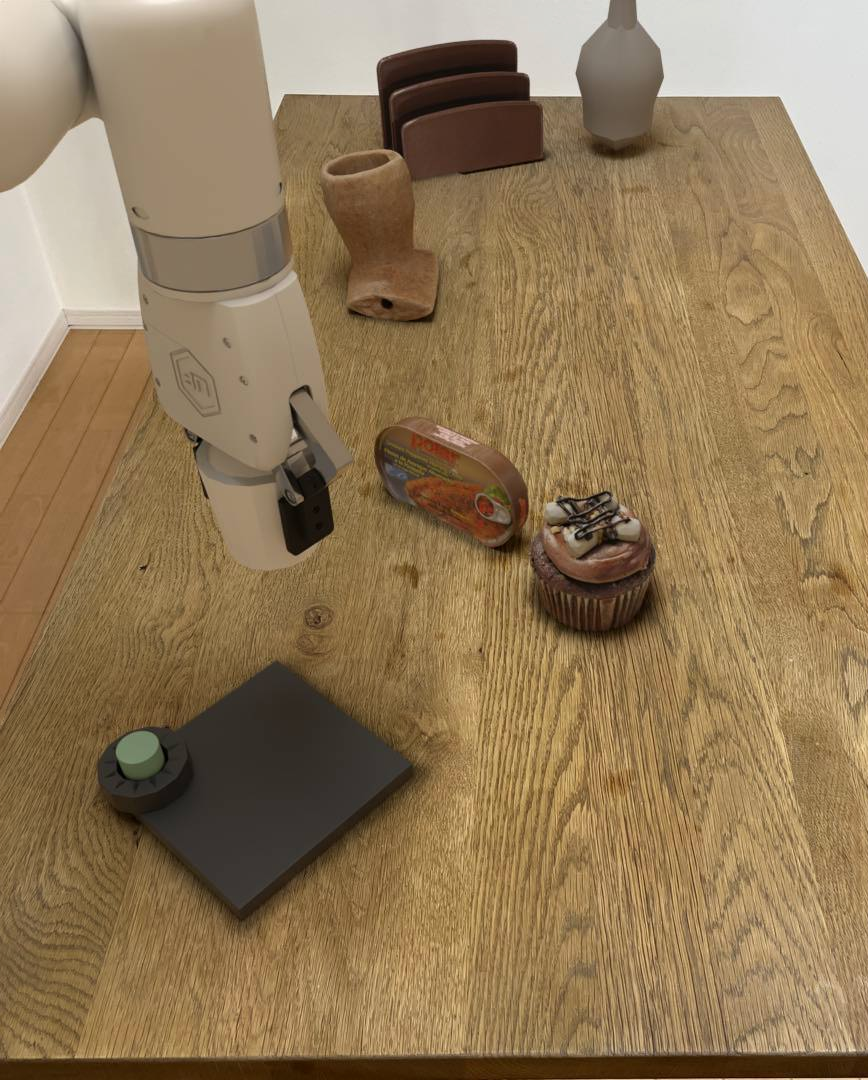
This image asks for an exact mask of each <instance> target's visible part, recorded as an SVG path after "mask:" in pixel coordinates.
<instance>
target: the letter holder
mask: <svg viewBox="0 0 868 1080" xmlns="http://www.w3.org/2000/svg"><path fill="white" fill-rule="evenodd" d="M518 52H519V51H518V46H517V44H516V43H515V41H512V40H509V39H468V40H467V39H466V40H459V41H458V40H457V41H450V42H444V43H437V44H431V45H426V46H420V47H416V48H412V49H407V50H403V51H400V52H397V53H393V54H390V55H387V56H384V57H382V58H381V59H379V60H378V62H377V64H376V81H377V92H378V99H379V100H378V101H379V110H380V125H381V135H382V146H383V147H382V148H383V149H385V150H392V151H395V152H397V153H398V154H400V155H401V157H402V158H403V159H404V161H405V163H406V165H407V167H408V170H409V174H410V178H411V181H412V180H417V179H418V180H419V179H424V178H429V177H435V176H442V175H447V174H454V173H458V174H461V175H462V174H467V173H473V172H478V171H484V170H490V169H496V168H502V167H508V166H514V165H519V164H526V163H532V162H536V161H543V160H544V157H545V151H544V108H543V105H542V104H541V103H540V102H539V101H536V100H531V79H530V77H529V75H528V74H527V73H524V72H518V69H519V68H518V66H519V65H518V63H519V61H518V57H519V55H518V54H519V53H518Z"/></svg>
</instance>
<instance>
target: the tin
mask: <svg viewBox="0 0 868 1080" xmlns="http://www.w3.org/2000/svg"><path fill="white" fill-rule="evenodd" d="M373 453H374V454H373V457H374V461H375V462H374V463H375V466H376V469H377V472H378V474H379V477H380V479H381V481H382V483H383V485H384V486H385V488H386V490H387V491H388V492H389V494H390V495H391V496H392V497H393V499H394V500H396V501H399V502H404V503H407V504H410V505H412V506H415V507H416V508H417V509H419V510H422V511H424V512H425V513H427V514H429V515H431V516H433V517H435V518H436V519H438V520H441V521H442V522H444V523H447V524H448V525H449V526H452V527H454V528H456V529H458V530H459V531H461V532H463V533H465V534H467V535H468V536H470V537H472V538H475V539H477V540H478V541H480V542H481V543H483V544H484V545H485V546H486V547H488V548H497V547H500V546H502V545H504V544H506V543H507V542H508V541H509V539H510V538H511V537H513V536H514V535H515V534H517V533H518V532H519V531H520V530H521V529H522V528H524V526H525V525H526V522H527V520H528V517H529V510H530V500H529V492H528V488H527V484H526V482H525V480H524V478H523V476H522V474H521V472H520V470H518V468H517V467H516V466H515V465H514V463H513V462H512V461H511V460H510V458H508V457H507V456H506V455H504V454H503V453H502V452H501V451H499V450H497V449H495V448H494V447H492V446H489V445H487V444H485V443H483V442H481V441H479V440H475V439H473V438H471V437H469V436H467V435H464V434H462V433H460V432H457V431H456V430H453V429H451V428H449V427H447V426H444V425H442V424H440V423H437V422H435V421H433V420H431V419H429V418H426V417H424V416H423V417H422V416H417V415H415V416H413V415H412V416H408V417H405V418H402V419H401V420H399V421H397V422H396V423H393V424H392V425H388V426H386V427H384V428H383V429H381V430H380V432H379V433H378V435H377V436H376V438H375V441H374V447H373Z"/></svg>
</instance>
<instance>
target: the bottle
mask: <svg viewBox="0 0 868 1080" xmlns="http://www.w3.org/2000/svg"><path fill="white" fill-rule="evenodd" d="M575 77H576V81H577V84H578V89H579V92H580V96H581V100H582V127H583V128H584V129H585V130H586V131H588V132H589V133H590V134H591V135H592V136H593V137H594V138H595V139H597V141H599V143H601V144H602V145H604V146H606V147H608V148H610V149H611V150H614V151H616V152H617V151H619V150H622V149H625V148H626V147H629V146H631V145H632V144H635V142H637V141H638V140H639V139H641V138H642V137H644V136H645V135H646V134H647V133H649V132H650V131H651V130H652V124H653V117H654V110H655V104H656V100H657V97H658V95H659V93H660V90H661V87H662V86H663V85H662V84H663V82H664V79H665V75H664V65H663V60H662V52H661V48H660V47H659V46H658V45H657V43H656V42H655V41H654V39H653V38H652V36H650V34H649V33H648V31H647V30H646V29H645V28H644V25H642V24H641V22H640V20H638V9H637V0H609V6H608V12H607V18H606V19H605V20H604V22H602V23H601V24H600V25H599V26H598V28H596V29H595V31H594V32H593V33H592V34H591V35H590V36H589V38H588V39H587V40H586V41H585V42H584V43H583V44H582V45H581V48H580V52H579V56H578V60H577V65H576V69H575Z"/></svg>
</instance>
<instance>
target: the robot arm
mask: <svg viewBox="0 0 868 1080" xmlns="http://www.w3.org/2000/svg"><path fill="white" fill-rule="evenodd" d="M255 4H256V3H255V0H0V194H2V193H5V192H8V191H11V190H13V189H14V188H17V187H18V186H20V185H21V184H23V183H24V182H26V181H27V180H29V179H30V178H31V177H32V176H33V175H34V174H35V173H36V172H37V171H38V170H39V169H40V167H42V166H43V165H44V163H45V162H46V161H47V160H48V158H49V157H50V156H51V154H52V153H53V152H54V150H55V149H56V148H57V147H58V145H59V144H60V143H61V141H62V140H63V139H64V137H65V136H66V135H67V133H68V132H69V131H71V130H73V129H75V128H77V127H79V126H80V125H82V124H84V123H86V122H88V121H89V120H91V119H99V120H101V121H102V122H103V125H104V130H105V134H106V137H107V141H108V145H109V150H110V154H111V156H112V157H111V158H112V161H113V166H114V171H115V173H116V177H117V181H118V185H119V189H120V193H121V198H122V200H123V201H122V202H123V205H124V209H125V213H126V217H127V221H128V224H129V229H130V231H131V236H132V240H133V244H134V249H135V252H136V256H137V289H138V300H139V308H140V316H141V321H142V327H143V328H142V329H143V334H144V338H145V345H146V350H147V354H148V359H149V364H150V369H151V373H152V377H153V378H152V379H153V382H154V386H155V391H156V394H157V397H158V402H159V404H160V406H161V408H162V410H163V411H164V412H165V414H167V416H168V417H170V418H171V419H172V420H173V421H175V423H177V424H178V425H181V426H182V429H183V430H182V431H183V434H184V436H185V438H186V439H187V440H188V441H189V442H190V443H191V444H192V445H195V444H196V445H195V446H193V447H192V452H193V456H194V460H195V465H197V460H196V451H197V450H198V448H199V446H200V445H201V443H202V441H203V439H204V440H205V441H207V442H209V443H210V444H212V445H214V446H215V447H217V448H218V449H220V450H222V451H224V452H225V453H227V454H229V455H230V456H232V457H234V458H235V459H237V460H239V461H241V462H242V463H244V464H246V465H248V466H250V467H252V468H255V469H258V470H263V471H270V470H272V472H273V474H274V477H275V479H276V481H277V483H278V485H279V487H280V489H281V491H282V493H283V495H284V496H283V497H281V498H280V499H279V500H278V507H279V512H280V518H281V523H282V528H283V533H284V538H285V544H286V548H287V551H288V552H289V553H291V554H292V555H294V556H297V555H299V554H301V553H302V552H304V551H305V550H307V549H308V548H310V547H311V546H313V545H314V544H316V543H317V542H319V543H320V541H322V540H324V539H325V538H326V537H328V536H329V535H331V534H332V533H333V532H334V530H335V522H334V516H333V509H332V503H331V495H330V489H329V486H331V485H332V484H334V482H336V481H337V480H339V479H340V478H341V477H342V476H343V475H344V474H345V473H346V472H347V471H348V470H349V469H350V468H351V467H352V466H353V465H354V463H355V458H354V456H353V454H352V453H351V451H350V450H349V448H348V447H347V446H346V444H345V443H344V441H343V440H342V439H341V437H340V436H339V434H338V433H337V431H335V429H334V428H333V426H332V425H331V423H330V411H329V400H328V393H327V387H326V380H325V375H324V370H323V365H322V360H321V356H320V352H319V348H318V347H319V346H318V343H317V339H316V334H315V330H314V327H313V323H312V319H311V316H310V312H309V308H308V305H307V301H306V299H305V295H304V291H303V289H302V287H301V284H300V281H299V276H298V274H297V273H296V272H295V271H294V270H293V268H294V266H295V256H294V249H293V242H292V236H291V228H290V221H289V216H288V210H287V203H286V196H285V189H284V183H283V176H282V170H281V164H280V163H281V162H280V157H279V151H278V144H277V137H276V131H275V130H276V129H275V123H274V118H273V111H272V105H271V98H270V91H269V90H270V89H269V85H268V79H267V78H268V77H267V71H266V70H267V69H266V65H265V58H264V51H263V45H262V39H261V31H260V25H259V19H258V14H257V9H256V5H255ZM293 428H294V430H295V432H296V434H297V437H295V438H293V439H291V437H292V432H293ZM301 451H302V453H303V455H304V457H305V459H306V461H307V463H308V465H309V467H310V470H309V471H307V472H306V473H304V474H303V475H302V476H300V477H299V478H298V479H296V477H295V475H294V473H293V471H292V469H291V467H290V465H289V463H288V461H287V459H289V458H291V457H293V456H294V455H296V454H298V453H299V452H301ZM196 468H197V472H198V476H199V480H200V485H201V487H202V493H203V496H204V498H205V499H207V500H208V501H210V500H209V497H208V494H207V491H206V489H205V486H204V483H203V481H202V478H201V475H200V473H199V470H198V467H197V466H196Z"/></svg>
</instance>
